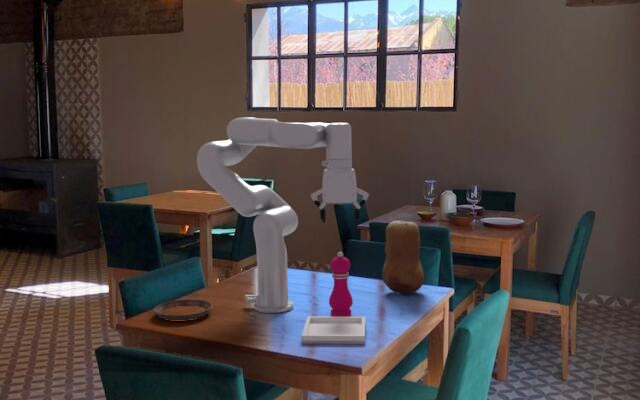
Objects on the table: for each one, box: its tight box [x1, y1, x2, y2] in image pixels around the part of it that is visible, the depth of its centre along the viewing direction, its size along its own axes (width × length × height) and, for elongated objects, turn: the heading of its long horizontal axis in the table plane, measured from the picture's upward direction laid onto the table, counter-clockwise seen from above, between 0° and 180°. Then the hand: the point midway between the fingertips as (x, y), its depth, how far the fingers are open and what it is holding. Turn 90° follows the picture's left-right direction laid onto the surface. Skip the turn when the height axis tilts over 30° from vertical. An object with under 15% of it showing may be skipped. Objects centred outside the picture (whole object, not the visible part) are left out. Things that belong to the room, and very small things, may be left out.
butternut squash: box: [381, 219, 425, 296], centre depth 226 cm, size 14×13×25 cm
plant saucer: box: [153, 298, 213, 320], centre depth 208 cm, size 18×18×3 cm
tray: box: [301, 315, 366, 345], centre depth 188 cm, size 17×17×2 cm
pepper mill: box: [328, 251, 354, 317], centre depth 202 cm, size 7×7×20 cm
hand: (340, 221), depth 200 cm, fingers open, 9 cm apart
